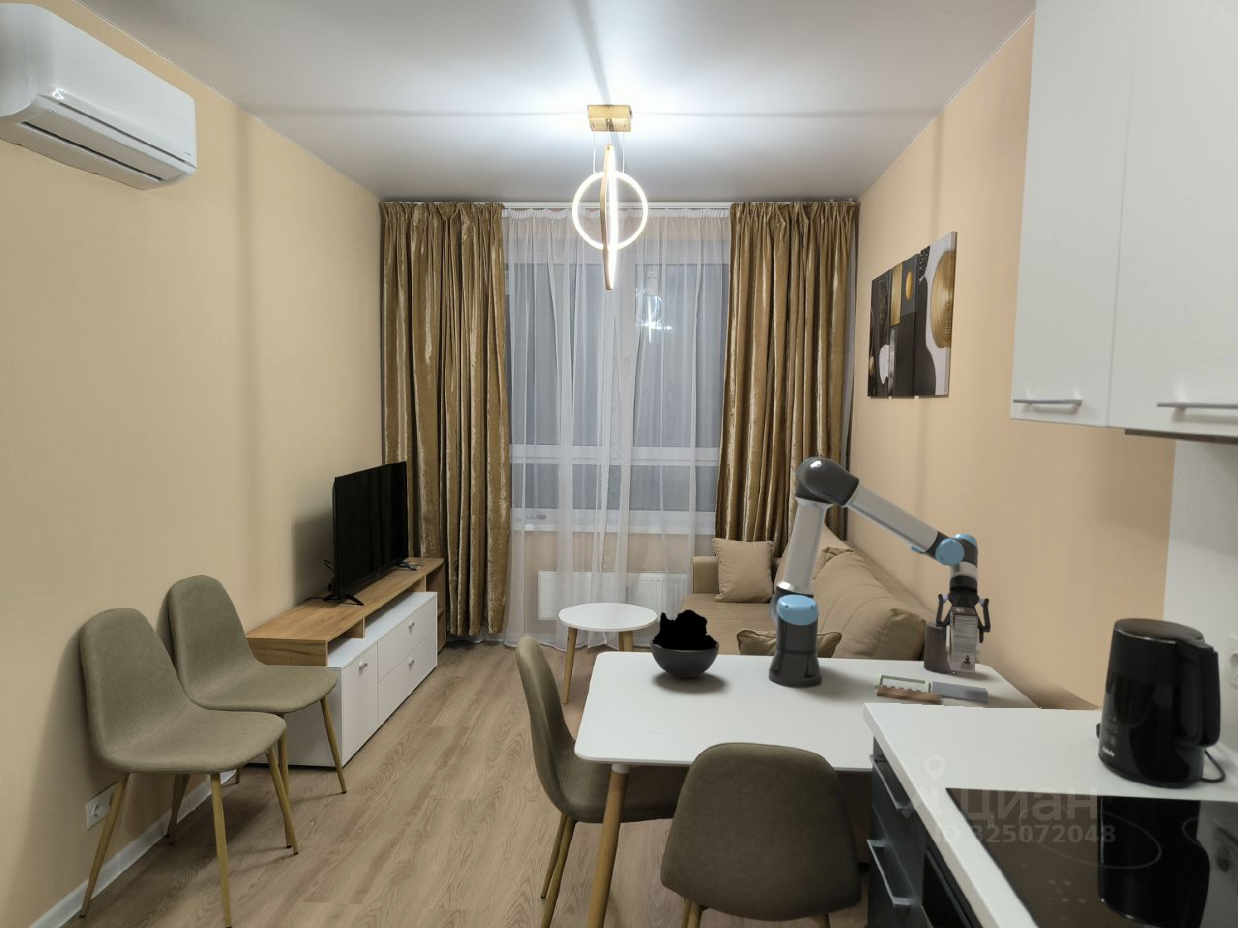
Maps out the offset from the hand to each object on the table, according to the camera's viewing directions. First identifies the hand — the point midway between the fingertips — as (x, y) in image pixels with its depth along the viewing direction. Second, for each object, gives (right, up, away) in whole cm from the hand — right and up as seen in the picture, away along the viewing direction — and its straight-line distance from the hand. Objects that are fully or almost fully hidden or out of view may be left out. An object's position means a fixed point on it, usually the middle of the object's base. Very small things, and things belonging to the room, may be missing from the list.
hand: (962, 650), depth 220 cm
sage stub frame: (-13, -12, +9) cm, 20 cm away
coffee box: (+1, -6, +4) cm, 7 cm away
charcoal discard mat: (+1, -13, +4) cm, 13 cm away
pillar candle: (+5, -12, +27) cm, 30 cm away
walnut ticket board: (-15, -13, -1) cm, 20 cm away
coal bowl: (-76, -11, +12) cm, 77 cm away
